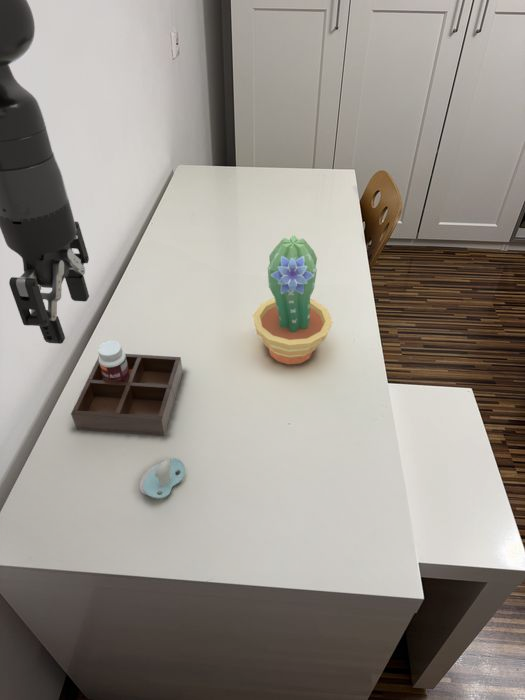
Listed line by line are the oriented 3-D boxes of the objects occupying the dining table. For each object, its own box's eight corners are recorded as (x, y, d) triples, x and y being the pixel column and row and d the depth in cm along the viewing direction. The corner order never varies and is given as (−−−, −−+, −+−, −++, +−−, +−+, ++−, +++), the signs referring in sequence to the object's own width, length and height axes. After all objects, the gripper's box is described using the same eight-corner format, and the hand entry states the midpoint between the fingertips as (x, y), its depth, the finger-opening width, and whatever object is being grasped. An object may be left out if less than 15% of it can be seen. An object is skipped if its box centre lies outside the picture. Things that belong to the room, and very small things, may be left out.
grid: (164, 435, 85) (161, 420, 82) (76, 429, 86) (70, 413, 83) (182, 372, 97) (180, 357, 94) (105, 367, 98) (100, 352, 95)
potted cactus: (237, 353, 101) (233, 244, 84) (281, 316, 110) (286, 210, 93) (300, 387, 94) (310, 275, 77) (342, 344, 103) (359, 236, 86)
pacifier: (131, 491, 77) (160, 509, 75) (122, 467, 73) (154, 485, 71) (162, 458, 82) (191, 474, 79) (156, 433, 78) (186, 449, 75)
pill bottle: (101, 388, 92) (90, 355, 87) (111, 370, 96) (102, 337, 90) (125, 391, 92) (117, 358, 86) (134, 373, 95) (127, 340, 90)
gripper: (25, 171, 58) (61, 286, 69) (-40, 230, 48) (15, 355, 59) (88, 173, 58) (114, 289, 69) (36, 234, 47) (77, 359, 58)
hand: (69, 319), depth 64 cm, fingers open, 8 cm apart
